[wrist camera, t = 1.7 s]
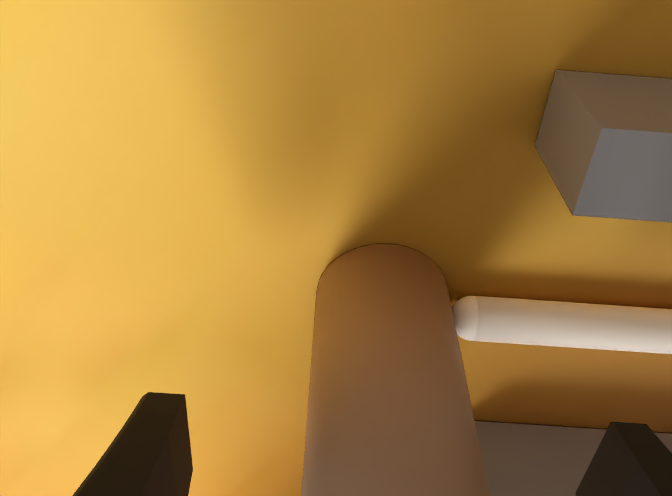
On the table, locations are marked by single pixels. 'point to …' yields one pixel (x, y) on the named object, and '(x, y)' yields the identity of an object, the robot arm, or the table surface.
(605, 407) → the table surface
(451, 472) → the tethered block
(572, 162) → the dark grey tray
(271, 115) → the table surface
